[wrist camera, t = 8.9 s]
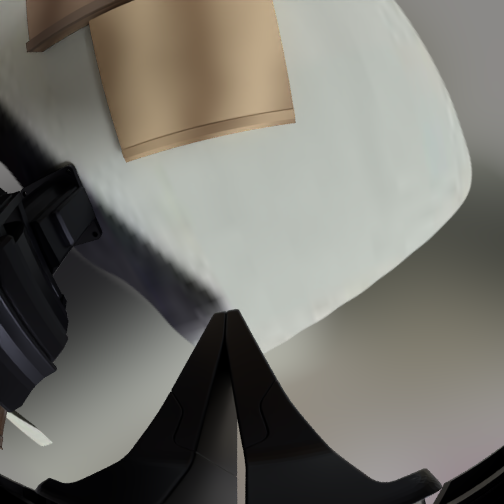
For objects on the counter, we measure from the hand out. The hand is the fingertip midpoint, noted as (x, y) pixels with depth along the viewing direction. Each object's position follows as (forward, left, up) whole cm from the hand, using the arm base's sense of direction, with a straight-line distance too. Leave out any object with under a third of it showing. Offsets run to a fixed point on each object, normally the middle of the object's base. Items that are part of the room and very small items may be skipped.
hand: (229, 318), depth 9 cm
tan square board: (-1, +9, -12) cm, 15 cm away
